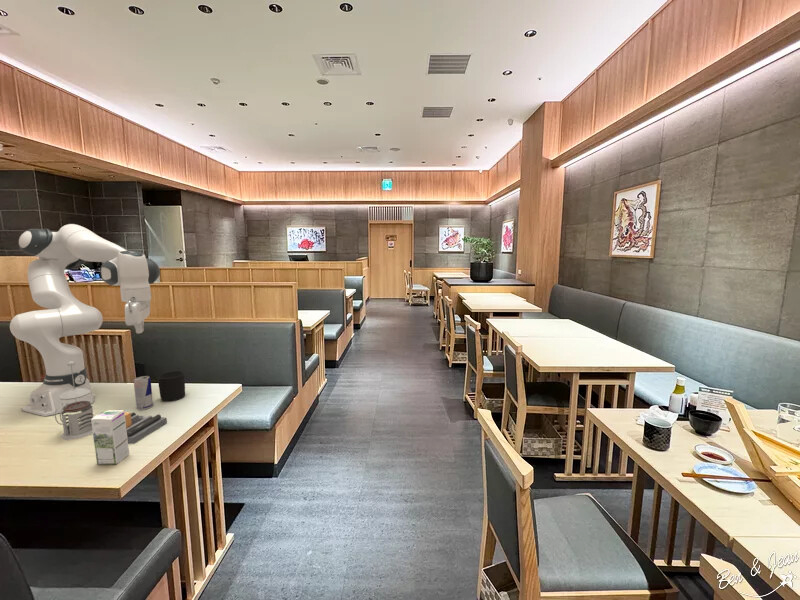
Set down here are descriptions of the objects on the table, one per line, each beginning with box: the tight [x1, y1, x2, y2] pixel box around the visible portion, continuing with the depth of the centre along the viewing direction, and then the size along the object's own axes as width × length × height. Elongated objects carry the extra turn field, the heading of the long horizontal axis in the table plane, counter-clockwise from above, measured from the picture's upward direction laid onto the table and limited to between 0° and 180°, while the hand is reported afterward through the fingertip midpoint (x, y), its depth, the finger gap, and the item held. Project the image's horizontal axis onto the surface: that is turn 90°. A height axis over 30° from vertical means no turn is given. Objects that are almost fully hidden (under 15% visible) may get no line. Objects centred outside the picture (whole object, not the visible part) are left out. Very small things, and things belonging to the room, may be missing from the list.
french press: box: [54, 361, 94, 441], centre depth 120 cm, size 10×12×25 cm
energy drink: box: [133, 375, 154, 411], centre depth 140 cm, size 5×5×12 cm
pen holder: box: [157, 370, 186, 403], centre depth 150 cm, size 9×9×10 cm
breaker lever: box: [124, 411, 132, 429], centre depth 119 cm, size 3×3×5 cm
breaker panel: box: [126, 412, 168, 445], centre depth 123 cm, size 14×14×4 cm
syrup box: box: [91, 409, 130, 465], centre depth 106 cm, size 6×6×14 cm
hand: (139, 332), depth 133 cm, fingers closed
